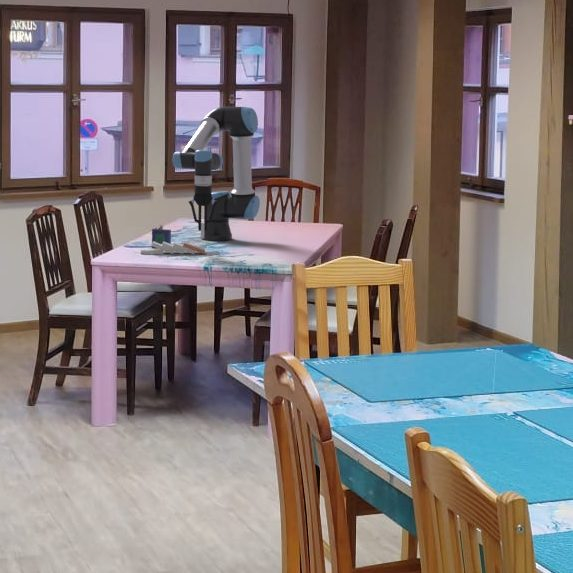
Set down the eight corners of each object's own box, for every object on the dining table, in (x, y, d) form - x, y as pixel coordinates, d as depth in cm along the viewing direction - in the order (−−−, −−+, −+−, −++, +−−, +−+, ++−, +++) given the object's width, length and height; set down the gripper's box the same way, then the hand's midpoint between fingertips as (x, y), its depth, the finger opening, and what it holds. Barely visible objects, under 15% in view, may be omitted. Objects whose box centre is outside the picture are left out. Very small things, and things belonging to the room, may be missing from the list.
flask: (171, 248, 547) (171, 225, 545) (169, 249, 545) (169, 226, 543) (153, 247, 550) (152, 224, 548) (150, 248, 547) (150, 225, 545)
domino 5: (203, 254, 530) (182, 246, 528) (203, 252, 535) (182, 244, 533) (205, 250, 530) (184, 243, 528) (204, 249, 535) (183, 241, 533)
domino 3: (183, 254, 529) (161, 246, 528) (182, 252, 534) (161, 244, 532) (184, 250, 529) (163, 242, 527) (184, 249, 534) (163, 241, 532)
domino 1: (163, 254, 528) (140, 253, 527) (163, 252, 533) (141, 252, 532) (163, 250, 528) (140, 250, 527) (163, 248, 533) (141, 248, 532)
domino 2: (172, 254, 529) (151, 245, 527) (172, 252, 534) (151, 244, 532) (174, 250, 528) (153, 242, 527) (174, 249, 533) (153, 241, 532)
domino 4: (194, 254, 530) (172, 246, 528) (193, 252, 534) (172, 244, 533) (195, 251, 529) (174, 243, 528) (195, 249, 534) (174, 241, 533)
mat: (152, 255, 525) (152, 254, 525) (152, 252, 535) (152, 251, 535) (220, 256, 528) (220, 255, 528) (219, 252, 538) (219, 252, 538)
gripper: (188, 185, 523) (188, 238, 527) (218, 186, 524) (217, 239, 528) (188, 184, 530) (187, 236, 534) (217, 184, 531) (216, 236, 536)
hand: (202, 237), depth 531 cm, fingers closed
